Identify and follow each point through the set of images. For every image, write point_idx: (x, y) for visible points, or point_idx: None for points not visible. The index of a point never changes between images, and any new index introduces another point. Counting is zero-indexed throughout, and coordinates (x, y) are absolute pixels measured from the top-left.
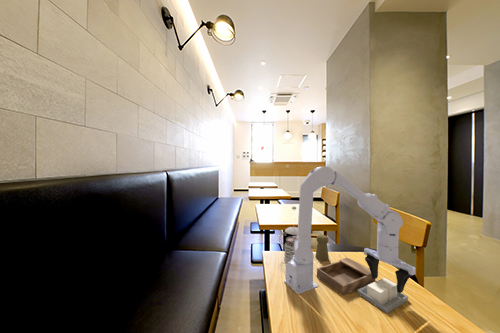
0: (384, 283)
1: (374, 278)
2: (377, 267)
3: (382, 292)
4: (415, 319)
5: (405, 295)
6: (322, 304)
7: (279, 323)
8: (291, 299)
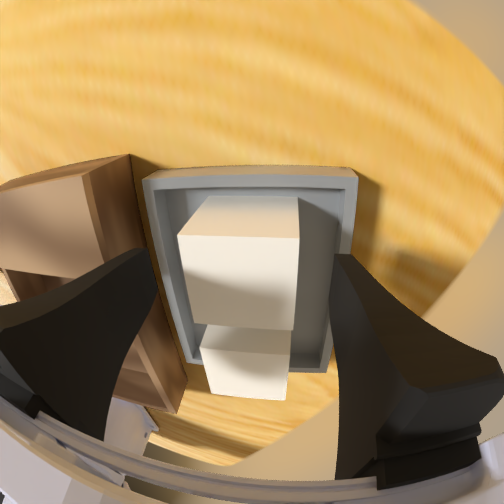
0: (236, 314)
1: (155, 288)
2: (92, 296)
3: (286, 386)
4: (409, 284)
5: (342, 180)
6: (202, 424)
7: (221, 463)
8: (171, 438)
